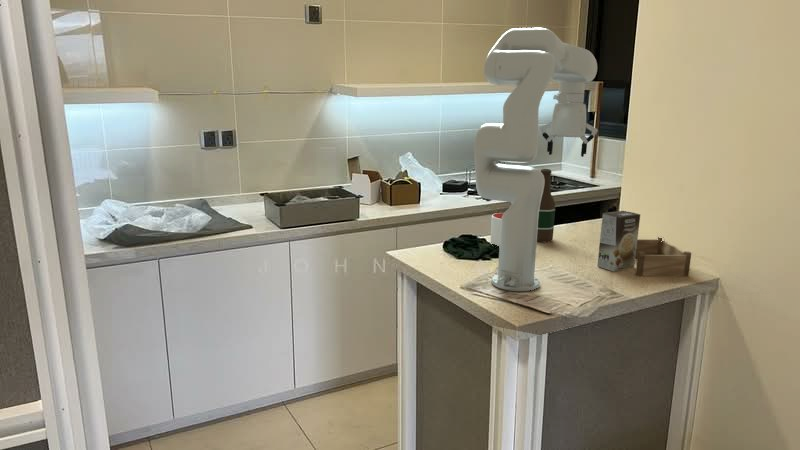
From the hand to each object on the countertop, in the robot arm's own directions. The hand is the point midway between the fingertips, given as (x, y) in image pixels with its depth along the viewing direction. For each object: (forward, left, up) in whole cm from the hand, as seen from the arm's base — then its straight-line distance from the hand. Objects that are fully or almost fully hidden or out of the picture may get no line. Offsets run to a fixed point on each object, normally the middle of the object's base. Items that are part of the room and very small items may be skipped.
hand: (566, 155), depth 196 cm
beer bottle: (+9, +8, -30) cm, 33 cm away
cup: (-5, +16, -30) cm, 35 cm away
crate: (-6, -28, -30) cm, 42 cm away
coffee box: (-11, -19, -30) cm, 38 cm away
